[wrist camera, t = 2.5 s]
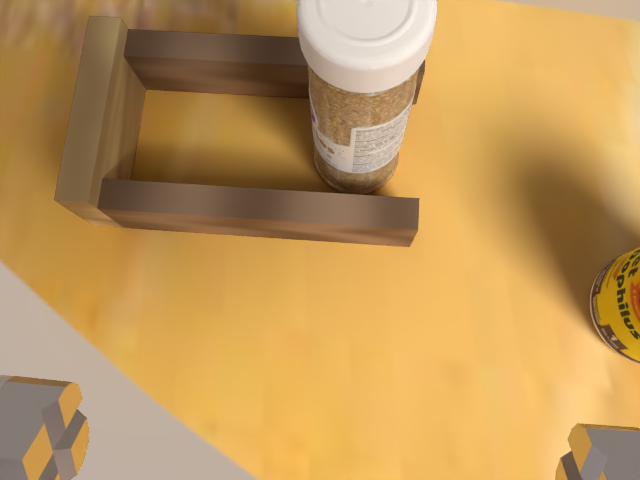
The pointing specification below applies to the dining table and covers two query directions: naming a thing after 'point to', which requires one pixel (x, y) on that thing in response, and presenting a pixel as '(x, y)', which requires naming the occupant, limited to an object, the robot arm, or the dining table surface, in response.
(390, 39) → the spice jar
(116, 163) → the guide rail
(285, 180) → the dining table surface
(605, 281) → the supplement bottle
